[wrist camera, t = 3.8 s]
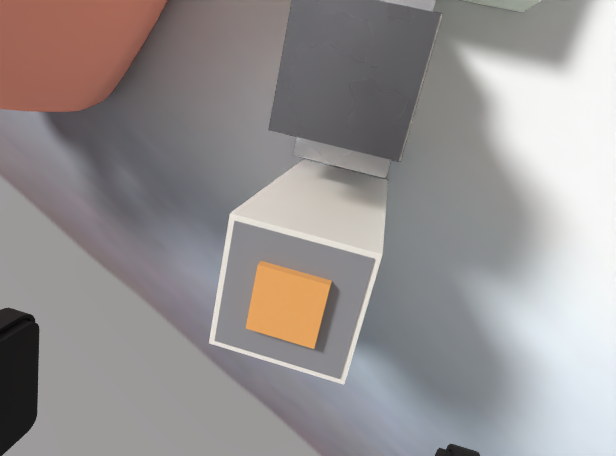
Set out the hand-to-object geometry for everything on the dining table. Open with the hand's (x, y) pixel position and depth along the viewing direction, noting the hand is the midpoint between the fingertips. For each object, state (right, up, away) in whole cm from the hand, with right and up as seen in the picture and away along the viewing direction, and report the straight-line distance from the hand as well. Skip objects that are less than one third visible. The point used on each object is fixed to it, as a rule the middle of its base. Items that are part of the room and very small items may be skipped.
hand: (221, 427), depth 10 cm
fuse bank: (+4, +9, +15) cm, 18 cm away
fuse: (+4, +6, +16) cm, 17 cm away
